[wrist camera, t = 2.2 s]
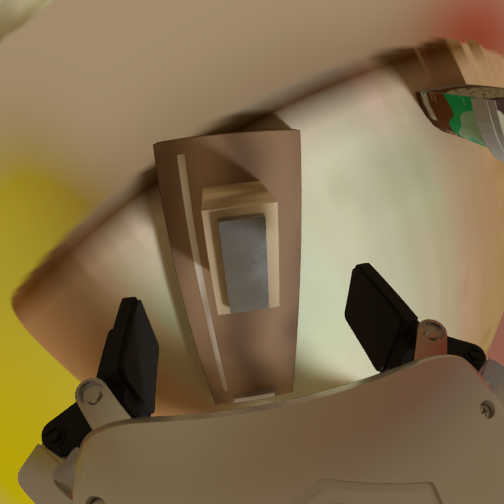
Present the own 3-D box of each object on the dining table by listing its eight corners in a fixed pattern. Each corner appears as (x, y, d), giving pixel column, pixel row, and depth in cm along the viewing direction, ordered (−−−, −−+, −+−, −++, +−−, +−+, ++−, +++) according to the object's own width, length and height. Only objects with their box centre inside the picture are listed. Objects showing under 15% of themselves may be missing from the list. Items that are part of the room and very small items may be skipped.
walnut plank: (291, 128, 19) (304, 130, 17) (288, 380, 33) (293, 396, 31) (158, 142, 18) (150, 145, 15) (214, 391, 32) (215, 408, 30)
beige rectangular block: (260, 180, 19) (280, 205, 14) (264, 267, 22) (281, 311, 17) (202, 187, 18) (201, 214, 13) (214, 273, 21) (218, 321, 17)
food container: (418, 154, 21) (498, 185, 13) (404, 93, 18) (491, 101, 10) (481, 132, 21) (545, 153, 12) (472, 83, 18) (540, 94, 9)
